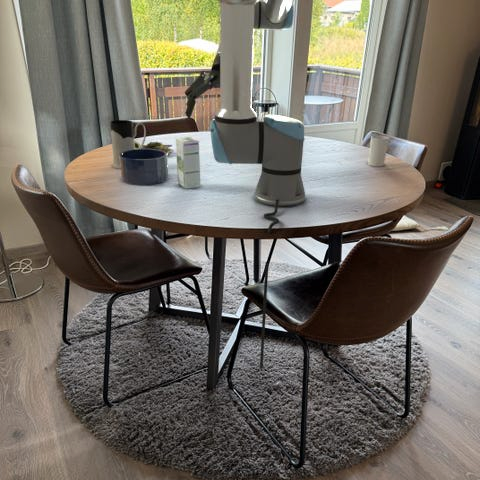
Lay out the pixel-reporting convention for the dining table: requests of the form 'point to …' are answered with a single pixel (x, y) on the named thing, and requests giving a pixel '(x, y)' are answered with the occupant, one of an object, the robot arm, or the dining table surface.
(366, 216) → the dining table surface
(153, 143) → the salad plate
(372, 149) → the cream cylindrical container
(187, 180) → the syrup box
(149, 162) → the pot
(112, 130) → the white black mug
